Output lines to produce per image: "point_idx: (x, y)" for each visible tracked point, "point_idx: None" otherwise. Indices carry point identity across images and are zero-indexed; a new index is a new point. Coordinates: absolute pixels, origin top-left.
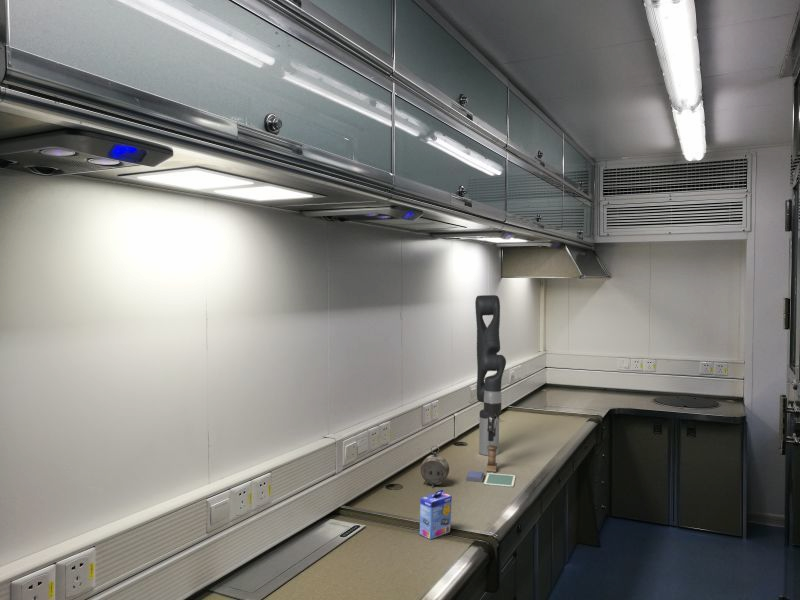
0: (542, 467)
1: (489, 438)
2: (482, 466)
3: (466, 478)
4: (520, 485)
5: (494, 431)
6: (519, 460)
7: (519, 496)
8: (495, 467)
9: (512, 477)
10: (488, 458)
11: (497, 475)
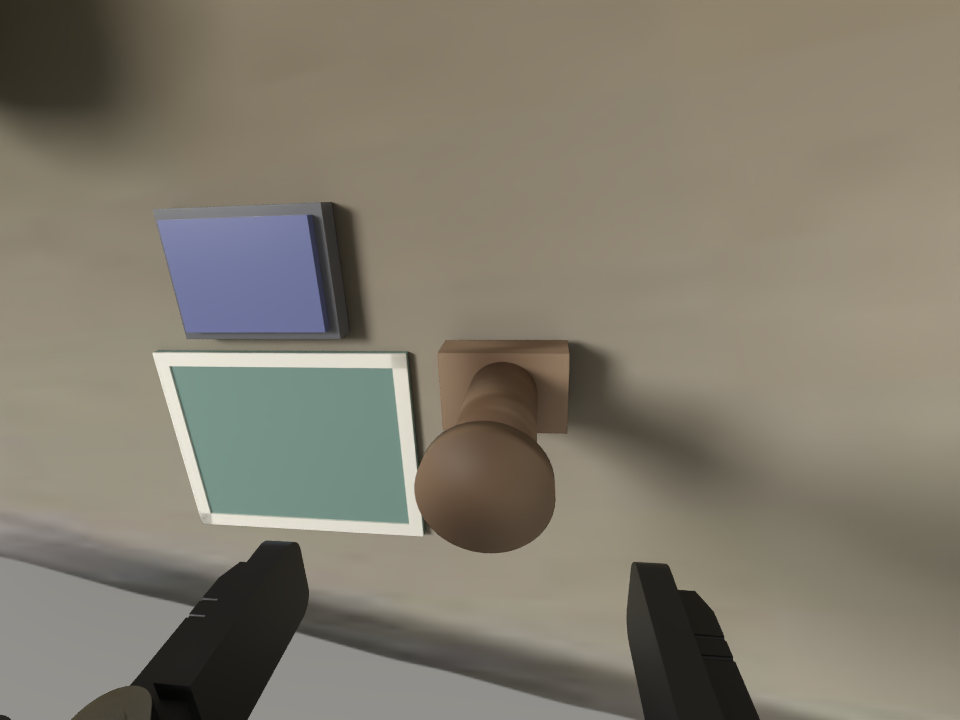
0: None
1: (216, 591)
2: (611, 286)
3: (157, 212)
4: None
5: (648, 717)
6: (859, 561)
7: (85, 546)
8: (444, 425)
9: (374, 517)
10: (475, 390)
11: (377, 426)
